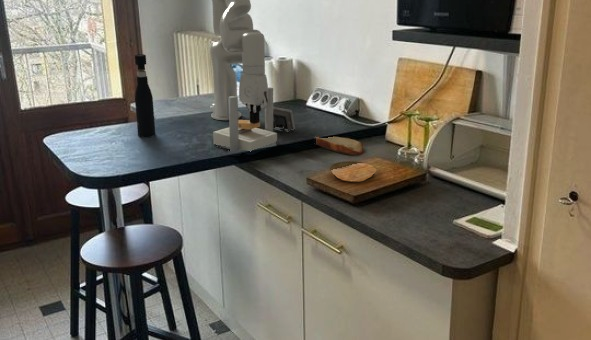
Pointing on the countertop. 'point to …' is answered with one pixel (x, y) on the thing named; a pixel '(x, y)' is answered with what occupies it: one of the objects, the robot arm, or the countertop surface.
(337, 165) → the plant saucer
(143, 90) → the wine bottle
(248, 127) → the rocker
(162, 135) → the countertop surface
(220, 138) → the grey shallow tray
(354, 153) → the bread slice
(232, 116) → the post
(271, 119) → the tall grey block
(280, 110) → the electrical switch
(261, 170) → the countertop surface
